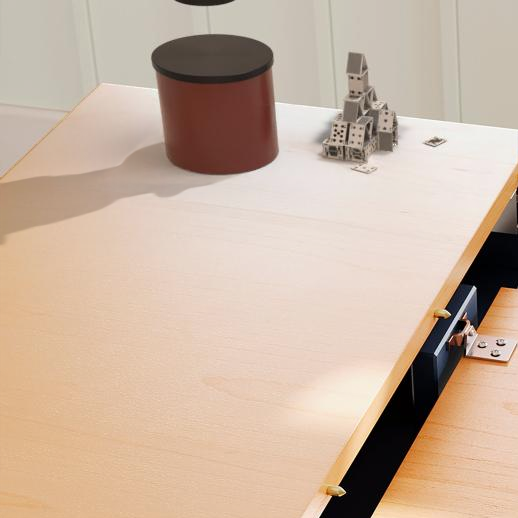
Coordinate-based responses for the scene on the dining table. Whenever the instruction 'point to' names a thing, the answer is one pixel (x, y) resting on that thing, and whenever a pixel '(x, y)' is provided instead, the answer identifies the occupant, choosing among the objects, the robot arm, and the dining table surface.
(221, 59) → the tin
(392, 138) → the house of cards
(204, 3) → the black lidded canister
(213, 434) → the dining table surface
